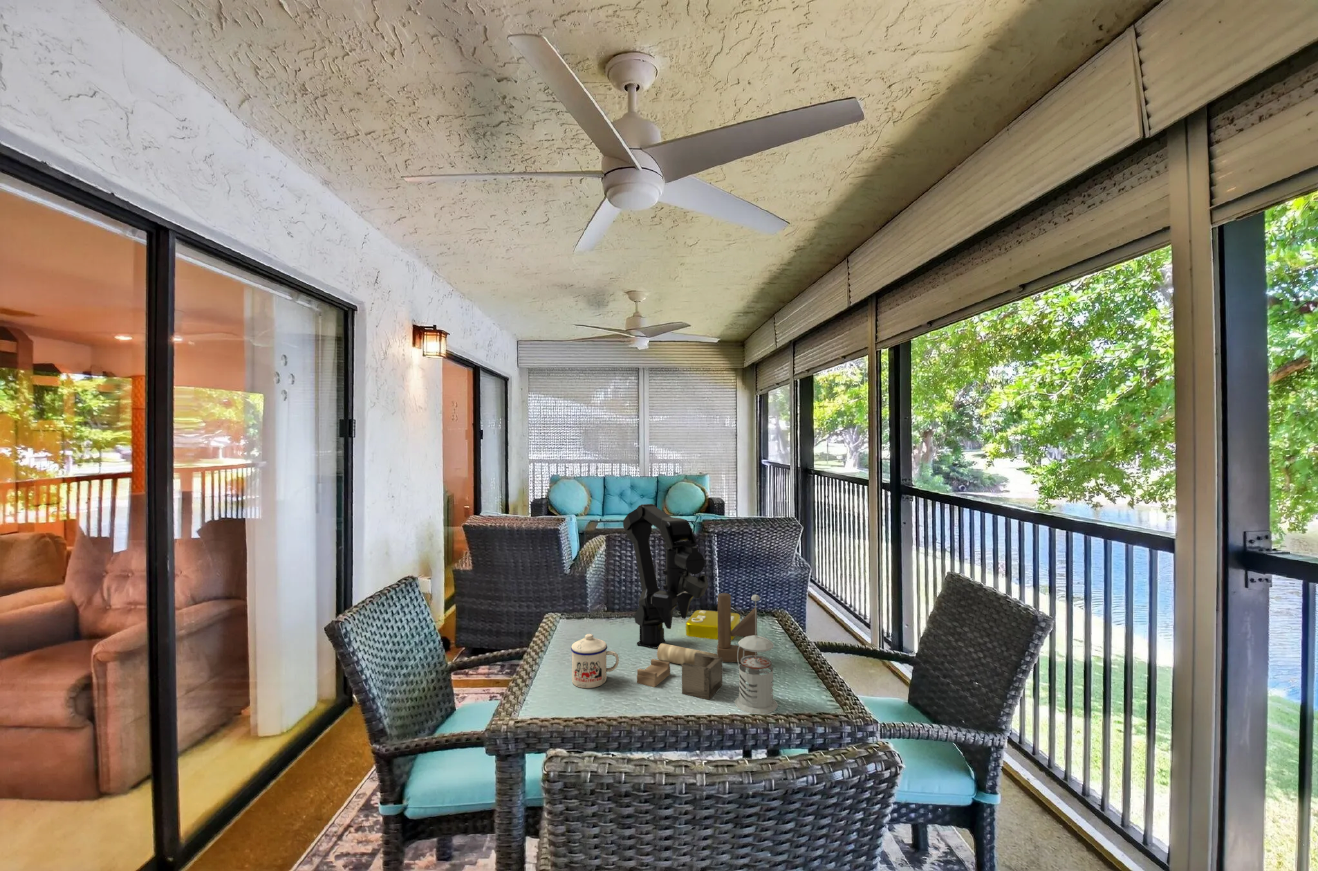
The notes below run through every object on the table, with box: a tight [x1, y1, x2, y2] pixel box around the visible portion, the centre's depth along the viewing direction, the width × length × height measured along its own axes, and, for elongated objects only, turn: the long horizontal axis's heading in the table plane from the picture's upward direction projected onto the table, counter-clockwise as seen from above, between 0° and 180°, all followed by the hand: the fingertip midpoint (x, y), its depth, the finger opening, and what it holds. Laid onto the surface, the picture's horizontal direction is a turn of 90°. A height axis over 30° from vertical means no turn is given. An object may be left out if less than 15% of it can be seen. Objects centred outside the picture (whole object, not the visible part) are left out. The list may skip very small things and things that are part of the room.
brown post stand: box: [716, 592, 758, 663], centre depth 154 cm, size 4×11×18 cm, turn 86°
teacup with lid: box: [570, 633, 620, 689], centre depth 142 cm, size 12×9×12 cm
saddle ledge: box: [636, 658, 671, 688], centre depth 143 cm, size 5×8×3 cm, turn 152°
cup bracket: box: [681, 653, 724, 701], centre depth 136 cm, size 7×8×7 cm
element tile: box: [685, 609, 741, 641], centre depth 178 cm, size 15×15×5 cm
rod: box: [656, 643, 717, 666], centre depth 152 cm, size 16×4×4 cm, turn 62°
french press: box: [734, 594, 779, 715], centre depth 130 cm, size 10×12×25 cm
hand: (676, 623), depth 153 cm, fingers open, 9 cm apart
